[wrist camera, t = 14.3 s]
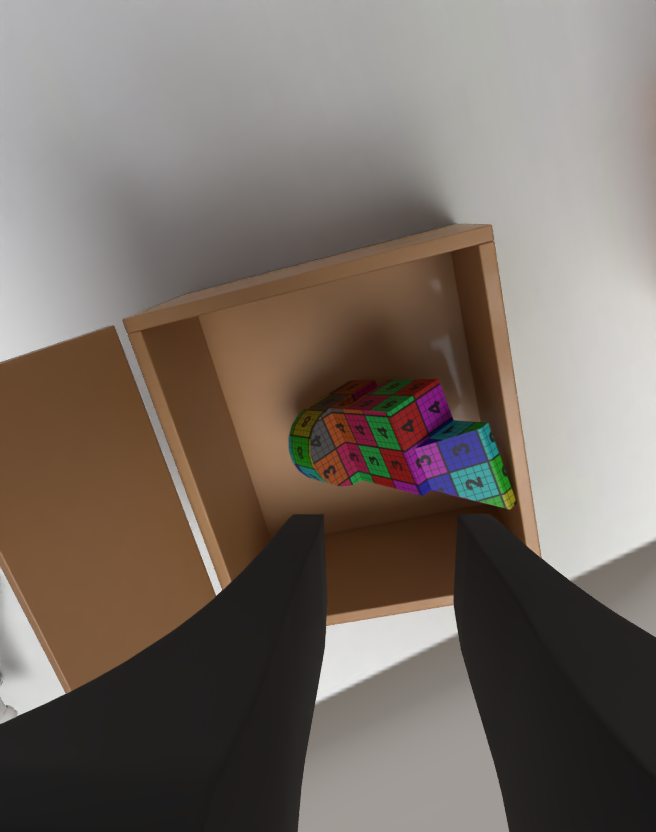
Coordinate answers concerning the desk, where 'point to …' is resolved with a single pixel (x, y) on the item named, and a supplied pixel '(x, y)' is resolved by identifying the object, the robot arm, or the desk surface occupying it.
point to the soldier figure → (6, 711)
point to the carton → (317, 377)
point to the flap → (90, 510)
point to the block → (399, 442)
